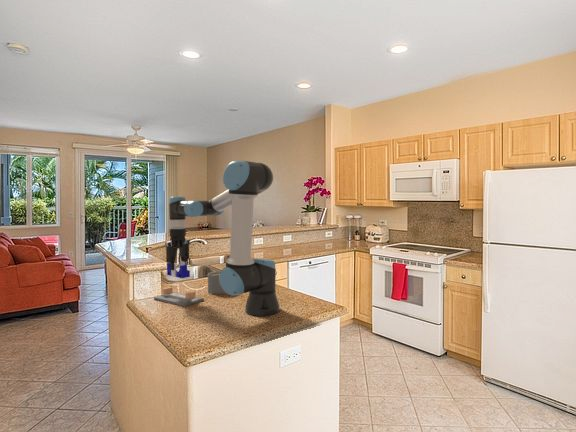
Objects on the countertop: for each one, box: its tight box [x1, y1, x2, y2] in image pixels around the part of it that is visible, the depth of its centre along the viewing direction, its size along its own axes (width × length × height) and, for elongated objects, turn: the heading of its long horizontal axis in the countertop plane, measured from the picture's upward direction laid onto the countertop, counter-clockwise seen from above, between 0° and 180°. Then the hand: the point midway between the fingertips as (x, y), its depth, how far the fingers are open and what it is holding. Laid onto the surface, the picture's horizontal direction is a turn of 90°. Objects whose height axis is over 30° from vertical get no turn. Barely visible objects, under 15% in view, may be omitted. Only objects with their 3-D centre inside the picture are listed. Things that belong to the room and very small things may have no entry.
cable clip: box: [166, 262, 191, 279], centre depth 173 cm, size 12×4×6 cm, turn 53°
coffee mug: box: [207, 271, 227, 295], centre depth 191 cm, size 13×10×10 cm
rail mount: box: [153, 286, 205, 308], centre depth 173 cm, size 22×12×5 cm, turn 58°
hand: (178, 275), depth 173 cm, fingers closed on cable clip, 5 cm apart
